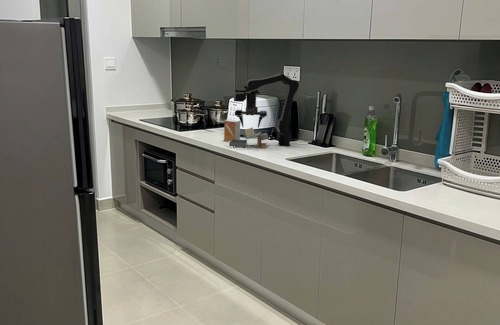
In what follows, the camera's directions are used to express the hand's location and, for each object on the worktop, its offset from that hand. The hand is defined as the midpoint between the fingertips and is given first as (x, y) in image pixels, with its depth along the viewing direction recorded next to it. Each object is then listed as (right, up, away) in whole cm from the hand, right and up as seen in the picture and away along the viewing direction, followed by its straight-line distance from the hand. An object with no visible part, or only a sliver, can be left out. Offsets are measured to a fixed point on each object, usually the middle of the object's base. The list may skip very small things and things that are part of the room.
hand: (250, 127), depth 286 cm
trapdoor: (+4, -8, +1) cm, 9 cm away
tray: (-7, -10, +3) cm, 13 cm away
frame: (+7, -11, +2) cm, 13 cm away
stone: (0, -5, +1) cm, 5 cm away
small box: (-12, -7, +16) cm, 21 cm away
